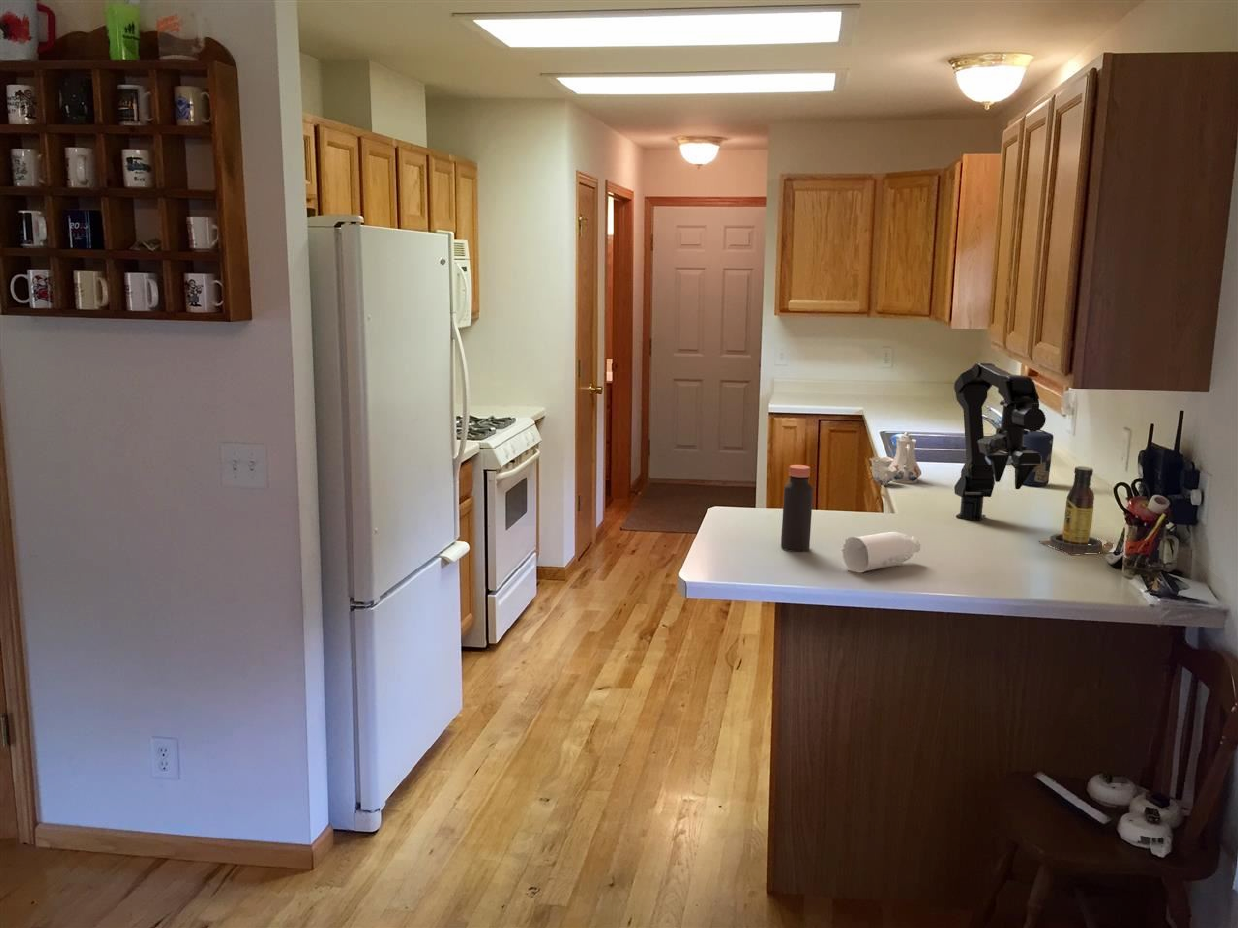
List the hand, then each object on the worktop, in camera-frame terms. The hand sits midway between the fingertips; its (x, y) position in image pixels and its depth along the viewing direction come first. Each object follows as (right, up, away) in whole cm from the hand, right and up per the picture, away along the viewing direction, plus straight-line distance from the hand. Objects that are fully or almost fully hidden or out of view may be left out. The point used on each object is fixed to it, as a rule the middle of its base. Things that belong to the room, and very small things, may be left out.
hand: (1007, 485), depth 268 cm
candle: (+34, -1, +69) cm, 77 cm away
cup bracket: (+16, -15, -8) cm, 24 cm away
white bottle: (-40, -18, -30) cm, 53 cm away
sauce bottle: (+14, -15, -9) cm, 22 cm away
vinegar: (-57, -15, -16) cm, 61 cm away
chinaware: (-11, 0, +71) cm, 71 cm away
